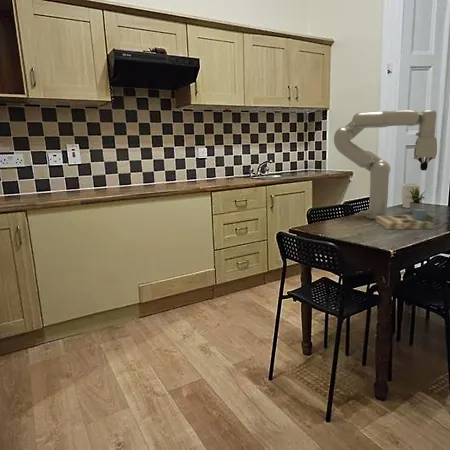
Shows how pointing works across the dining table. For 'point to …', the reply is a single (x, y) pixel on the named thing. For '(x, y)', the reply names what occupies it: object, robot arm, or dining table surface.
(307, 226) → the dining table surface
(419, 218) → the block
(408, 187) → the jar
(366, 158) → the robot arm
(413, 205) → the house plant
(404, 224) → the board
